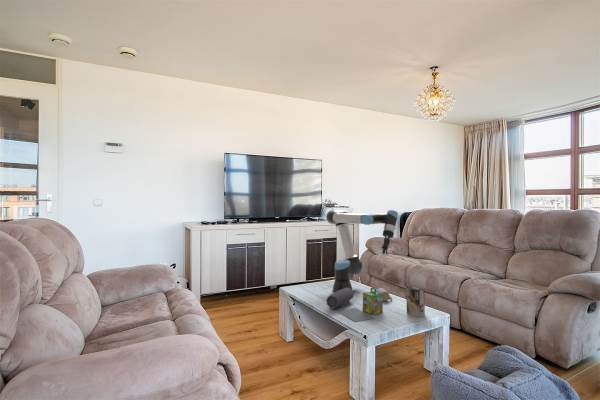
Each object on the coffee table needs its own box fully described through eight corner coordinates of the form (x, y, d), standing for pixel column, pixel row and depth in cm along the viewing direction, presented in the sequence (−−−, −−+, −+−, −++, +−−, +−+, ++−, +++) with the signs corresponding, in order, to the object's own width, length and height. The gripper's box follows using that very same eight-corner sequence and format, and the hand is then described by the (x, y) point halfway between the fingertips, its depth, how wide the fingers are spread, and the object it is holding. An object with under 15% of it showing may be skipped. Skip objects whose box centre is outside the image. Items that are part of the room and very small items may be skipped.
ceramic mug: (380, 302, 219) (380, 291, 219) (375, 298, 227) (375, 287, 227) (394, 301, 222) (394, 290, 222) (388, 297, 230) (388, 287, 230)
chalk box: (362, 310, 203) (362, 287, 203) (373, 308, 207) (372, 285, 207) (372, 315, 195) (372, 291, 195) (383, 312, 199) (383, 288, 199)
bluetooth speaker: (342, 300, 225) (342, 285, 225) (354, 302, 220) (354, 287, 220) (325, 309, 207) (325, 293, 207) (338, 311, 201) (338, 296, 201)
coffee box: (425, 315, 193) (425, 288, 194) (420, 318, 189) (419, 291, 189) (411, 311, 200) (411, 286, 200) (406, 314, 196) (405, 287, 196)
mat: (337, 311, 202) (337, 310, 202) (355, 308, 208) (355, 307, 208) (355, 322, 183) (355, 321, 183) (375, 318, 189) (375, 317, 189)
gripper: (394, 227, 215) (387, 258, 209) (394, 236, 237) (388, 264, 231) (383, 225, 217) (376, 255, 211) (383, 234, 240) (377, 262, 234)
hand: (382, 260), depth 221 cm, fingers open, 13 cm apart
